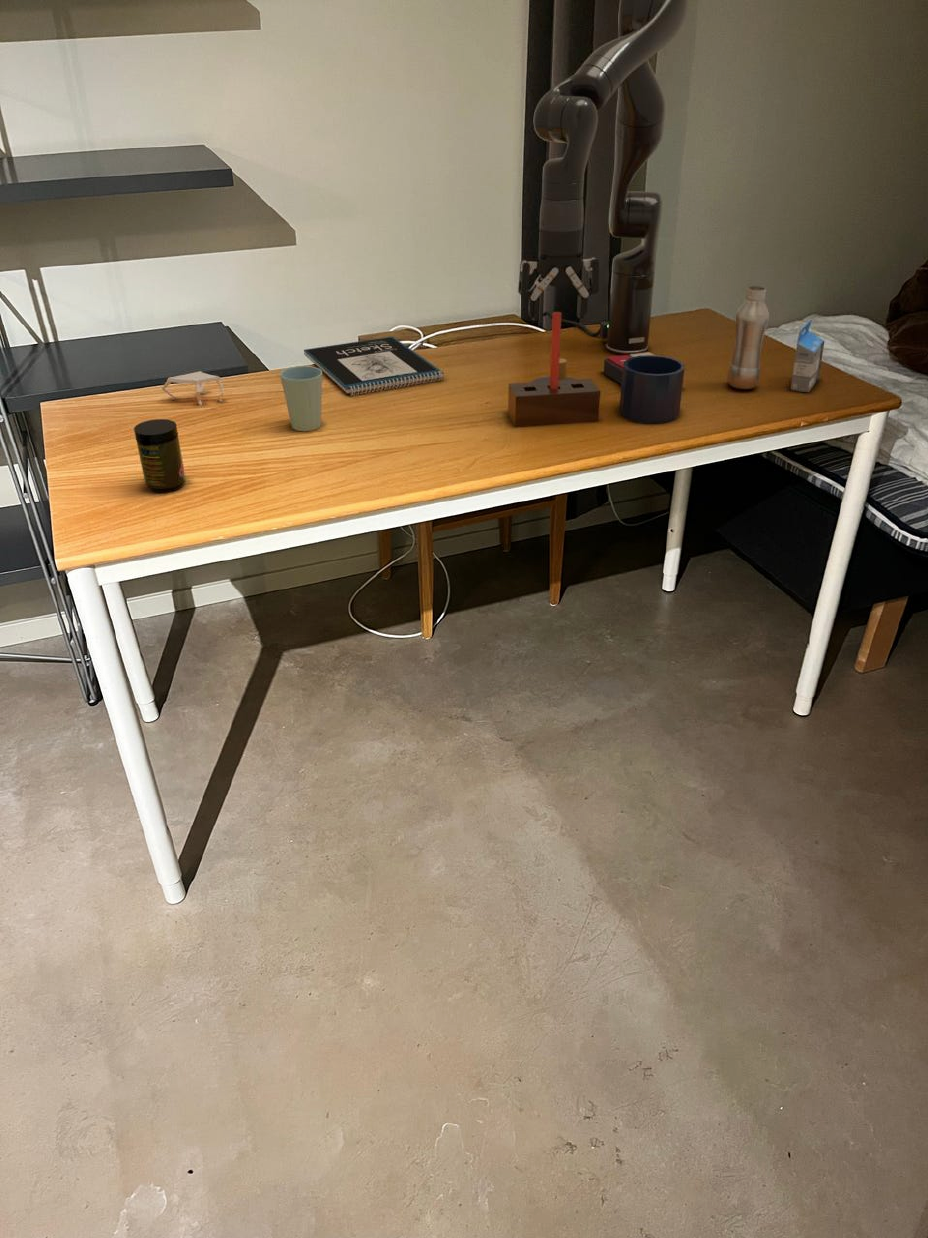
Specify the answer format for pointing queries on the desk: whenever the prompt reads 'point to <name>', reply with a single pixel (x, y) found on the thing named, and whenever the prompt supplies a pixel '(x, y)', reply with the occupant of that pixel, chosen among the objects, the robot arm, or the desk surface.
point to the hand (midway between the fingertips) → (557, 318)
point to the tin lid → (561, 372)
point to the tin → (651, 389)
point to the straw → (555, 350)
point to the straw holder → (553, 402)
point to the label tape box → (807, 360)
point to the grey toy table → (194, 379)
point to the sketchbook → (372, 365)
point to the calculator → (618, 365)
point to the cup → (303, 396)
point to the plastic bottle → (749, 339)
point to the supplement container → (160, 455)
